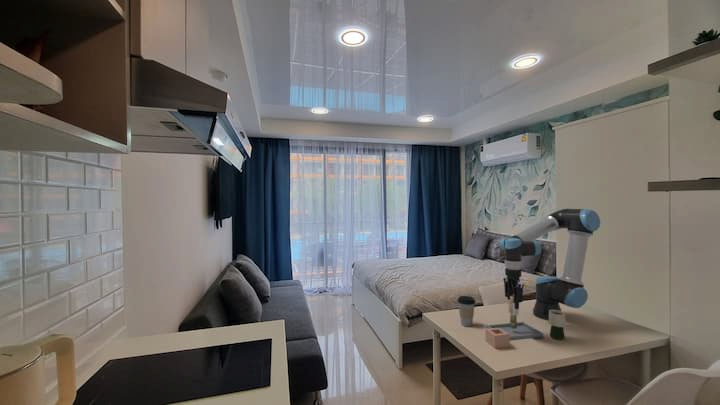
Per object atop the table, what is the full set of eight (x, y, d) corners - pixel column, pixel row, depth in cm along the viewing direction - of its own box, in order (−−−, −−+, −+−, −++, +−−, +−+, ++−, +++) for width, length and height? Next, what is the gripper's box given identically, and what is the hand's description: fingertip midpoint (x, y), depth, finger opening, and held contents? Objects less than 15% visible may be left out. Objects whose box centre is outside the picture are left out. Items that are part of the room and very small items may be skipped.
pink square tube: (499, 341, 152) (499, 327, 152) (509, 348, 145) (509, 334, 145) (485, 343, 151) (485, 328, 151) (494, 350, 144) (494, 335, 144)
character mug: (558, 333, 160) (558, 308, 160) (571, 338, 154) (571, 313, 153) (542, 336, 157) (542, 311, 156) (556, 342, 150) (555, 316, 150)
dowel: (514, 325, 162) (513, 295, 162) (518, 328, 159) (517, 297, 159) (509, 326, 162) (508, 296, 161) (512, 328, 159) (512, 297, 158)
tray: (522, 325, 170) (522, 321, 170) (543, 338, 155) (543, 333, 155) (486, 329, 166) (486, 325, 166) (503, 342, 151) (503, 337, 151)
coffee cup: (464, 320, 179) (464, 294, 179) (479, 325, 172) (478, 298, 171) (454, 324, 174) (453, 297, 174) (468, 329, 166) (468, 302, 166)
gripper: (497, 265, 167) (497, 308, 168) (516, 272, 151) (517, 319, 152) (509, 264, 168) (510, 307, 169) (530, 271, 153) (530, 318, 153)
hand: (513, 313), depth 160 cm, fingers closed on dowel, 3 cm apart
